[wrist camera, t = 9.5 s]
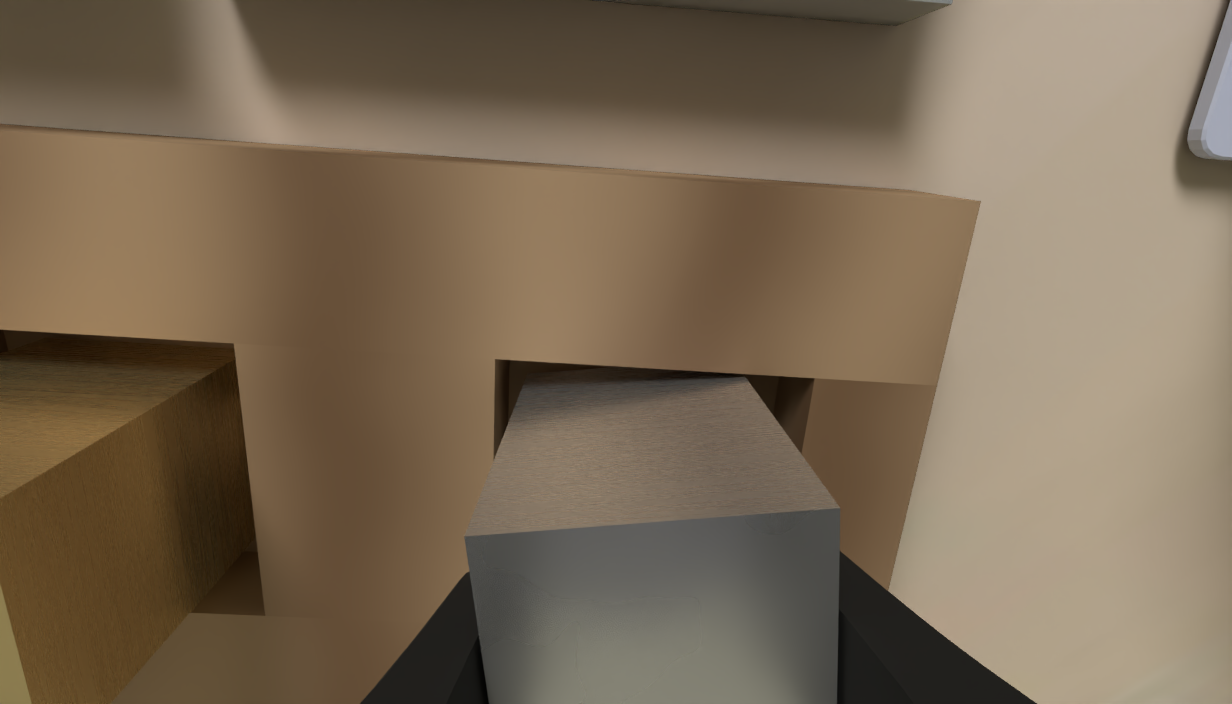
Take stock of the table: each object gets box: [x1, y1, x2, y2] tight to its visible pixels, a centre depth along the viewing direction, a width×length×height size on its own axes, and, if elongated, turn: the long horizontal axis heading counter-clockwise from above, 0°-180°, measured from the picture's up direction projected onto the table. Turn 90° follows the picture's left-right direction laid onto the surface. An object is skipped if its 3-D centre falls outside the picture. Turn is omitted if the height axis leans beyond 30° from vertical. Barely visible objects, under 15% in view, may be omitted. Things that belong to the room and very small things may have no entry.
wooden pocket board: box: [0, 124, 981, 704], centre depth 13 cm, size 20×12×2 cm, turn 86°
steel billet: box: [464, 367, 840, 704], centre depth 10 cm, size 4×4×6 cm
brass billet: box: [0, 337, 256, 704], centre depth 11 cm, size 4×4×6 cm
